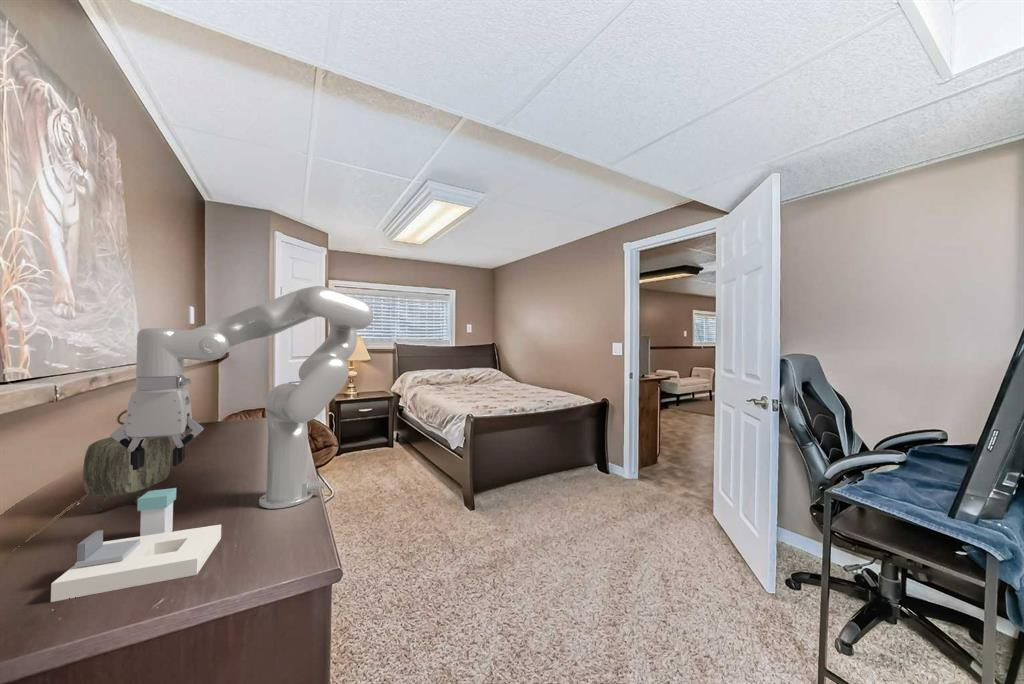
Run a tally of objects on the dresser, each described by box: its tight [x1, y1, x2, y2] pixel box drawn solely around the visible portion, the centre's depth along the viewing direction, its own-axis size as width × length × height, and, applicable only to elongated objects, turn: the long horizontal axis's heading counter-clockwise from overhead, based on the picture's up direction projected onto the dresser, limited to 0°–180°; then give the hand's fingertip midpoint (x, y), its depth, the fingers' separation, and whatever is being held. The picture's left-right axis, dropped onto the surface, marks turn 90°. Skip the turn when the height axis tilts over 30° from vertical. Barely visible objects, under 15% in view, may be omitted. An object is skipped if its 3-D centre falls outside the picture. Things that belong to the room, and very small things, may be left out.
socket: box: [50, 524, 222, 603], centre depth 71 cm, size 19×14×3 cm
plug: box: [136, 487, 177, 536], centre depth 81 cm, size 5×5×10 cm
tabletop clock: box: [82, 409, 172, 513], centre depth 98 cm, size 14×9×25 cm, turn 178°
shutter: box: [74, 529, 140, 568], centre depth 69 cm, size 6×6×4 cm
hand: (158, 465), depth 81 cm, fingers open, 6 cm apart
